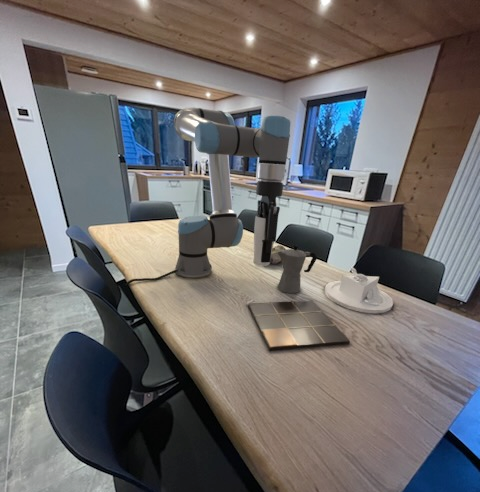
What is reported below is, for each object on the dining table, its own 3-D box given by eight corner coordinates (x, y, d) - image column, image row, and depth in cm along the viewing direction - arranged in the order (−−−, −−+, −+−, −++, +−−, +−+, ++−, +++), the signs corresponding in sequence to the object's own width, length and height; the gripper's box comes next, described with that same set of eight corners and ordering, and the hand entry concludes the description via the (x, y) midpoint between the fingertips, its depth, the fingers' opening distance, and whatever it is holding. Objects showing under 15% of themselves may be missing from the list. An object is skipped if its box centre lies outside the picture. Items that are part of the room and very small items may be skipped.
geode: (253, 270, 134) (280, 273, 126) (248, 255, 129) (276, 257, 121) (267, 251, 144) (292, 253, 136) (263, 236, 139) (290, 237, 131)
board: (269, 350, 70) (270, 347, 70) (248, 305, 91) (248, 302, 91) (349, 343, 75) (350, 340, 75) (311, 302, 96) (312, 299, 96)
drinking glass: (258, 268, 81) (262, 219, 75) (247, 261, 87) (251, 214, 80) (276, 266, 84) (282, 218, 78) (264, 259, 90) (269, 214, 84)
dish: (358, 318, 89) (367, 288, 84) (312, 286, 109) (317, 261, 104) (407, 307, 98) (418, 279, 93) (356, 280, 119) (363, 256, 114)
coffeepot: (274, 293, 102) (280, 248, 94) (271, 282, 110) (276, 240, 102) (313, 294, 102) (323, 250, 95) (307, 284, 111) (315, 242, 103)
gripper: (296, 184, 67) (283, 268, 77) (272, 179, 84) (264, 249, 94) (268, 182, 66) (259, 269, 76) (249, 178, 82) (244, 249, 92)
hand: (262, 258), depth 85 cm, fingers closed on drinking glass, 6 cm apart
